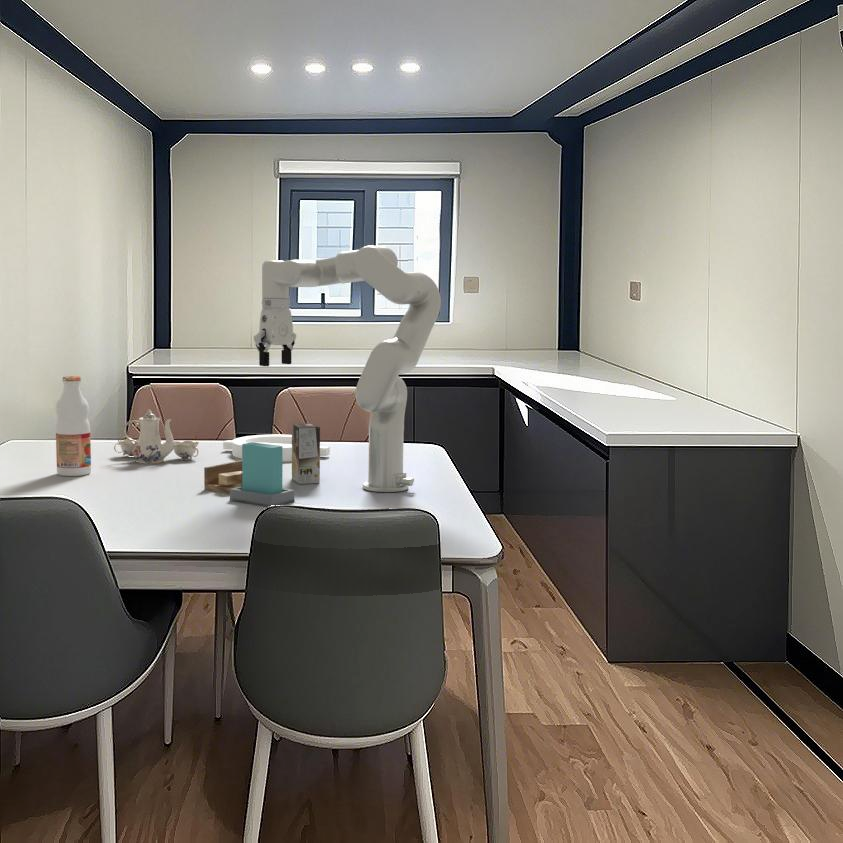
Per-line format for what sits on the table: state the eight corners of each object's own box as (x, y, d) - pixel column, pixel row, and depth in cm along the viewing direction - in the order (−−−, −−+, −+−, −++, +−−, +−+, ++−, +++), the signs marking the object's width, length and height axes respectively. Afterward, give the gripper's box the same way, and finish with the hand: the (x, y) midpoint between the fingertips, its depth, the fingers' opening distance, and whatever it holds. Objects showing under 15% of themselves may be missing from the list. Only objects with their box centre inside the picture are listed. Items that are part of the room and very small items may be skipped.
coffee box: (320, 483, 298) (321, 426, 295) (298, 484, 295) (298, 427, 293) (312, 477, 306) (312, 422, 304) (290, 478, 304) (290, 423, 302)
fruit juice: (53, 472, 306) (50, 375, 302) (85, 469, 311) (83, 374, 308) (61, 477, 298) (59, 378, 295) (95, 475, 304) (93, 377, 300)
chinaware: (205, 462, 338) (206, 409, 337) (190, 465, 321) (191, 410, 320) (118, 459, 339) (119, 407, 339) (99, 463, 323) (100, 408, 322)
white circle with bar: (333, 459, 340) (333, 444, 339) (250, 465, 326) (250, 450, 325) (298, 446, 364) (298, 432, 363) (220, 451, 350) (220, 437, 349)
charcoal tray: (294, 501, 273) (294, 490, 273) (271, 507, 266) (271, 495, 265) (253, 494, 280) (253, 483, 280) (229, 500, 273) (229, 489, 272)
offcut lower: (248, 491, 287) (248, 482, 287) (242, 494, 283) (242, 484, 283) (225, 489, 289) (224, 480, 288) (218, 492, 285) (218, 483, 285)
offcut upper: (240, 480, 289) (240, 470, 289) (249, 482, 287) (248, 473, 286) (218, 483, 285) (218, 473, 284) (226, 485, 282) (226, 476, 281)
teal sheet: (282, 499, 272) (282, 445, 270) (272, 502, 269) (272, 447, 267) (252, 494, 277) (252, 442, 275) (242, 497, 274) (242, 443, 272)
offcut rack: (280, 486, 291) (280, 465, 291) (243, 495, 279) (243, 473, 278) (241, 481, 299) (241, 460, 298) (204, 489, 286) (204, 467, 285)
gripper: (265, 305, 291) (265, 367, 293) (305, 304, 305) (304, 364, 307) (244, 304, 295) (245, 366, 297) (284, 303, 309) (284, 362, 311)
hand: (275, 364), depth 302 cm, fingers open, 9 cm apart
